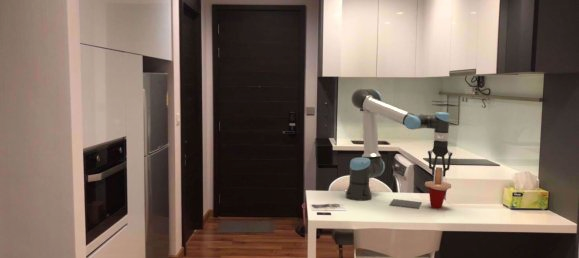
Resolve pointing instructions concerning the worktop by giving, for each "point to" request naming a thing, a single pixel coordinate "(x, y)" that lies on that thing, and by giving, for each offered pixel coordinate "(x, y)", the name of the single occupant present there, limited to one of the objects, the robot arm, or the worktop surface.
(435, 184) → the lid
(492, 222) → the worktop surface
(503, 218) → the worktop surface
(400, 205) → the mat
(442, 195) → the plastic cup
